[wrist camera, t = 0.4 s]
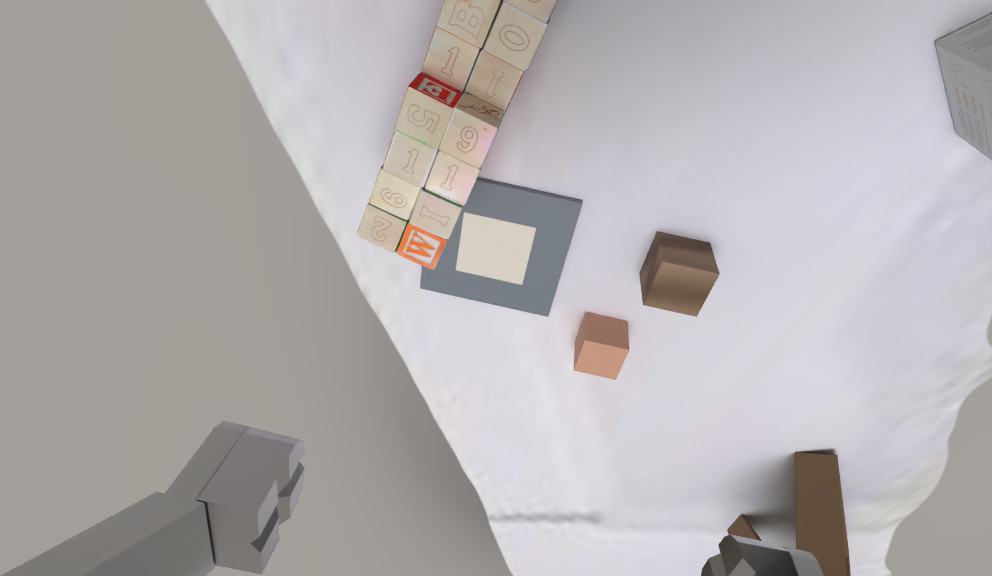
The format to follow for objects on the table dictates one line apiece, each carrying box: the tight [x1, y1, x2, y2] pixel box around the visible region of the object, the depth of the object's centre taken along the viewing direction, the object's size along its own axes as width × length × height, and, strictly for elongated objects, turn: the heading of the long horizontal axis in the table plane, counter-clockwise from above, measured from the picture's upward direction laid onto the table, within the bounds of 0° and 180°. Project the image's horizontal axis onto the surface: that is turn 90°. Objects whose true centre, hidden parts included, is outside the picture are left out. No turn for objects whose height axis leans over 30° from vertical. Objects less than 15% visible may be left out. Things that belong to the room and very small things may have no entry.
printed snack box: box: [357, 0, 557, 270], centre depth 39 cm, size 21×6×12 cm, turn 156°
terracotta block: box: [574, 312, 629, 380], centre depth 57 cm, size 4×4×4 cm
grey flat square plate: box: [420, 177, 582, 317], centre depth 53 cm, size 14×14×1 cm
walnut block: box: [640, 231, 719, 317], centre depth 50 cm, size 5×5×5 cm
